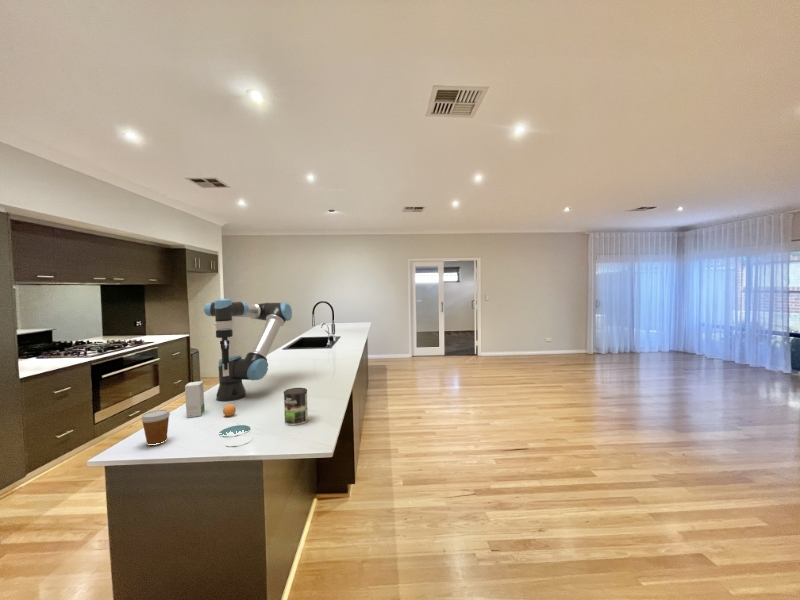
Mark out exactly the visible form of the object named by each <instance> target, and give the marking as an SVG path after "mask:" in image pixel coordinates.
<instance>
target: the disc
mask: <svg viewBox="0 0 800 600" xmlns="http://www.w3.org/2000/svg"><path fill="white" fill-rule="evenodd" d="M249 429H250V430H251V427H250V426H249V425H245V424H240V425H231V426H228V427H226V428H223V429H222V430H220V431H219V433H222V434H219V433H218V435H219V436H220V435H223V434H224V435H227V434H226V432H227V433H229V432H230V431H231V432H233V433H234V434H236V431H237V433H238V432H239V431H241V432H242V430H244V432H245V431H248V430H249ZM250 430H249V431H250ZM249 431H248V432H249ZM222 438H225V437H224V436H223V437H222Z"/></svg>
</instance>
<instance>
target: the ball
mask: <svg viewBox="0 0 800 600" xmlns="http://www.w3.org/2000/svg"><path fill="white" fill-rule="evenodd" d="M236 410H237V409H236V406H235V405H234V404H231V403H229V404H226V405H225V406H224V407H223V408H222V413H223V415H224V416H226V417H232V416H233V415H234V414H235V412H236Z"/></svg>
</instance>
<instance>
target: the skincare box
mask: <svg viewBox="0 0 800 600" xmlns="http://www.w3.org/2000/svg"><path fill="white" fill-rule="evenodd" d="M184 392H185V395H184V396H185V409H186V410H185V411H186V418H187V419H188V418H189V417H191V418H197V417H196V416H198V417H201V416H202V415H203V414H204V413H205V411H206V410H205V394H204V393H205V391H204V381H203V380H200V381H193V382H192V381H191V382H188V383H186V385H185V386H184ZM203 412H204V413H203Z"/></svg>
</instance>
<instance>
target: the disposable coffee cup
mask: <svg viewBox="0 0 800 600" xmlns="http://www.w3.org/2000/svg"><path fill="white" fill-rule="evenodd" d="M170 415H171V412H169V410H168V409H156V410H152V411H148V412H145V413H143V414H142V416H141V419H140V421H141V422H142V425H143V430H144V436H145V439H146V444H147V443H148V444H156V443H161V442H163V441H165V440H166V439H167V440H168V429H169V419H170Z"/></svg>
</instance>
